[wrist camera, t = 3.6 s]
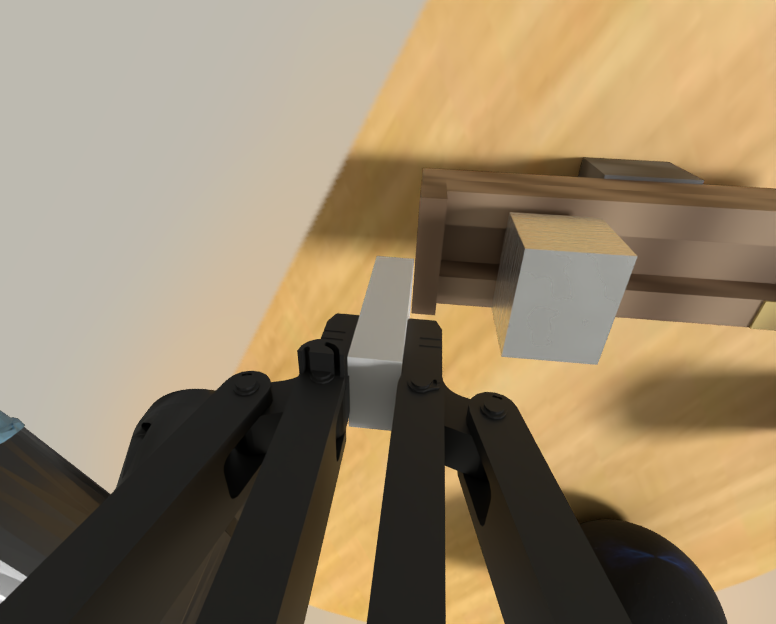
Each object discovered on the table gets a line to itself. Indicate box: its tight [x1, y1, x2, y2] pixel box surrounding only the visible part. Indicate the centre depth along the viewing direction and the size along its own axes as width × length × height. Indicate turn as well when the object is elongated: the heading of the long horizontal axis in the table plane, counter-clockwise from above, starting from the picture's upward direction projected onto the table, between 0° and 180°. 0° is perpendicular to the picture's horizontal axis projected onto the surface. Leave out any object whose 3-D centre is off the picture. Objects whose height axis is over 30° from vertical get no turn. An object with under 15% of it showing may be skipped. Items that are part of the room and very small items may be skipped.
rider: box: [491, 212, 638, 365], centre depth 20 cm, size 4×5×7 cm
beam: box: [412, 157, 776, 331], centre depth 24 cm, size 24×6×9 cm, turn 88°
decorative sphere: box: [579, 519, 727, 624], centre depth 39 cm, size 15×15×15 cm
